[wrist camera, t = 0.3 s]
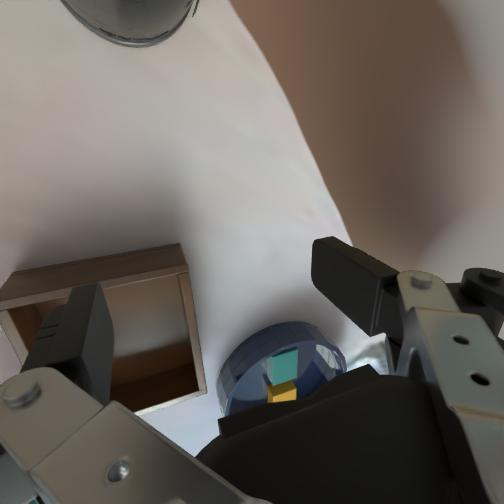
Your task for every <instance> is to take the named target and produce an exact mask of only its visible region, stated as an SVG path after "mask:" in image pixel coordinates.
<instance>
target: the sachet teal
mask: <svg viewBox="0 0 504 504" xmlns="http://www.w3.org/2000/svg"><path fill="white" fill-rule="evenodd" d="M297 363H298V349H297V347H296V346H295V347H292V348H289V349H285V350H282V351H280V352H279V353H277V354H275V355H273V356H271V357H269V358H267V376H268V378H269V379H270V381H271V383H272V385H273V386H274V385H277V384H280V383H283V382H286V381H289V380H291V379H294V378H297Z"/></svg>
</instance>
